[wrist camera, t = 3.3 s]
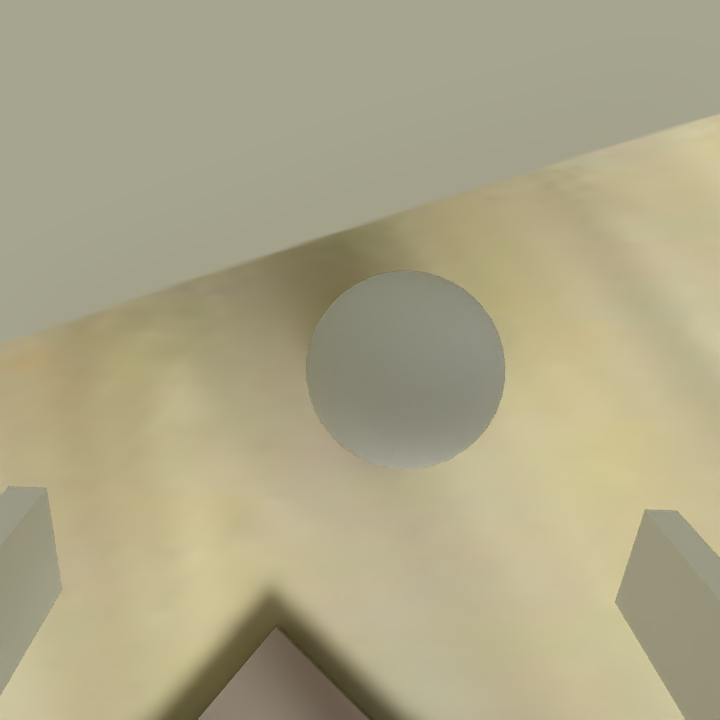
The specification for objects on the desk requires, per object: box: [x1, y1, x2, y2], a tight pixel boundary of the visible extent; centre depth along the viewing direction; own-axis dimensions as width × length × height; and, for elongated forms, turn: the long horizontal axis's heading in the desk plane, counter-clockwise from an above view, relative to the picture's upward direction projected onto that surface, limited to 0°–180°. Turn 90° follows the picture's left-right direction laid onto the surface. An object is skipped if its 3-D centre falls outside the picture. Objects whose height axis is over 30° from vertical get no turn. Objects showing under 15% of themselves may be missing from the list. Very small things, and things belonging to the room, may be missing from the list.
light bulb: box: [306, 271, 505, 469], centre depth 19 cm, size 6×6×10 cm
